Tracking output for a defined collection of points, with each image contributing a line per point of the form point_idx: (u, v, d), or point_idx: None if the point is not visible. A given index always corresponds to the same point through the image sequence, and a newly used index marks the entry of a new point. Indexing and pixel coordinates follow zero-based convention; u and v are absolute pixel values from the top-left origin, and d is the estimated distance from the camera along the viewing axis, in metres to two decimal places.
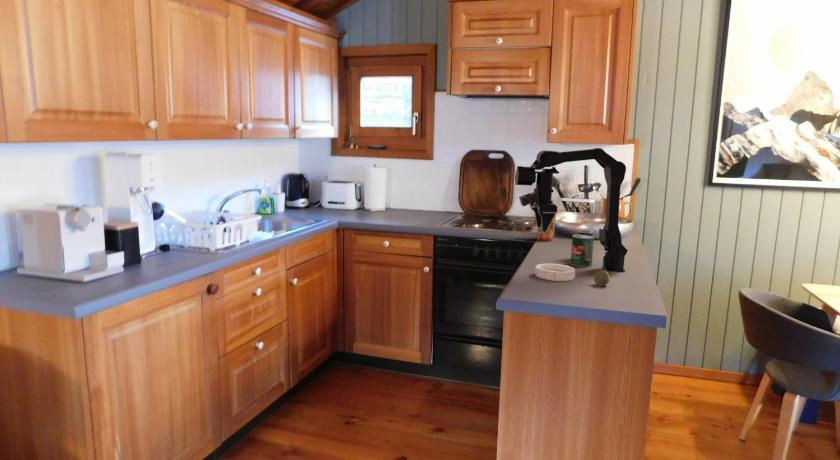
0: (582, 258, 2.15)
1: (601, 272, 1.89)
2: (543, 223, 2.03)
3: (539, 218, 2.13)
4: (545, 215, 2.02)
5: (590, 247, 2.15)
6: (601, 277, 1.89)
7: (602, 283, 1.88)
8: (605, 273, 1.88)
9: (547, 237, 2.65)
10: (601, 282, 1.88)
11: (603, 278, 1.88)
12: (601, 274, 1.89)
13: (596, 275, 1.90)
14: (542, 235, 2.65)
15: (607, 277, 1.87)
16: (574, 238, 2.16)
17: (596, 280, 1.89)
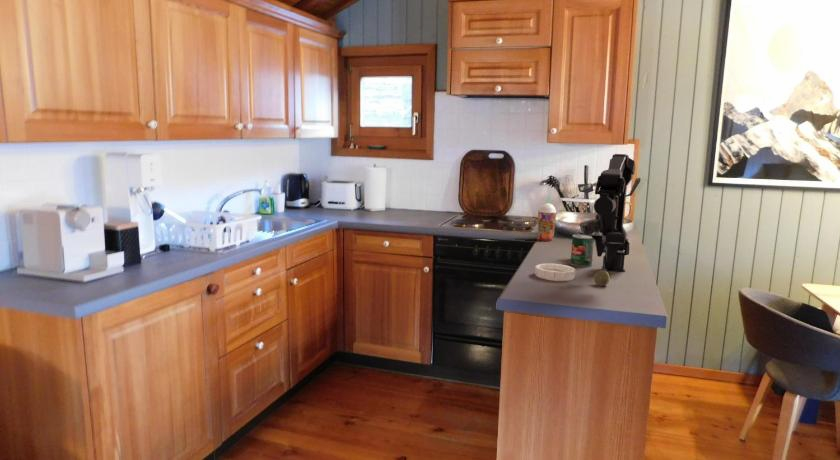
0: (582, 258, 2.15)
1: (601, 272, 1.89)
2: (608, 254, 1.82)
3: (599, 247, 1.92)
4: (610, 245, 1.81)
5: (590, 247, 2.15)
6: (601, 277, 1.89)
7: (602, 283, 1.88)
8: (605, 273, 1.88)
9: (547, 237, 2.65)
10: (601, 282, 1.88)
11: (603, 278, 1.88)
12: (601, 274, 1.89)
13: (596, 275, 1.90)
14: (542, 235, 2.65)
15: (607, 277, 1.87)
16: (574, 238, 2.16)
17: (596, 280, 1.89)
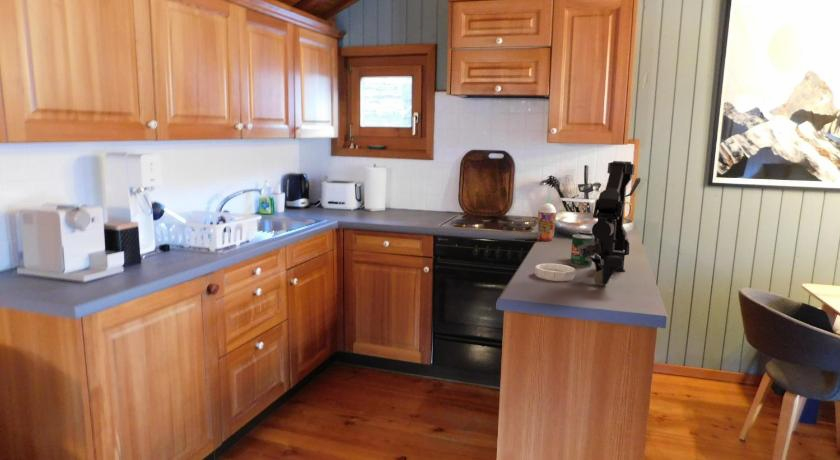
0: (582, 258, 2.15)
1: (601, 272, 1.89)
2: (604, 276, 1.85)
3: None
4: (606, 267, 1.84)
5: None
6: (601, 276, 1.89)
7: (602, 283, 1.88)
8: None
9: (547, 237, 2.65)
10: (601, 282, 1.88)
11: None
12: (601, 274, 1.89)
13: (596, 275, 1.90)
14: (542, 235, 2.65)
15: None
16: (574, 238, 2.16)
17: (596, 280, 1.89)
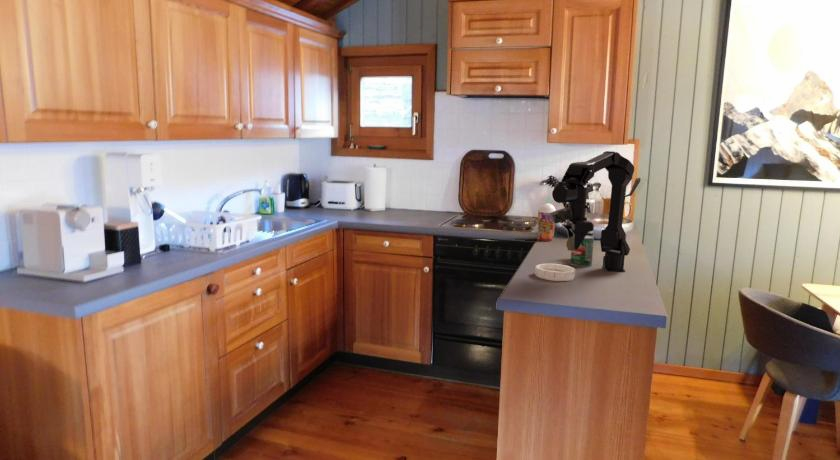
0: (582, 258, 2.15)
1: (572, 238, 1.93)
2: (575, 241, 1.89)
3: None
4: (578, 232, 1.89)
5: (590, 247, 2.15)
6: (572, 242, 1.93)
7: None
8: None
9: (547, 237, 2.65)
10: (573, 247, 1.92)
11: None
12: (573, 240, 1.93)
13: (568, 241, 1.94)
14: (542, 235, 2.65)
15: None
16: None
17: (568, 246, 1.94)
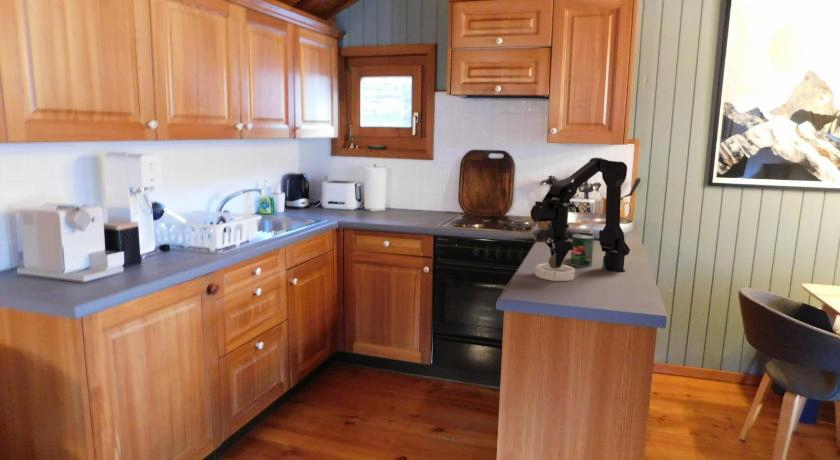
0: (582, 258, 2.15)
1: (554, 256, 1.98)
2: (557, 259, 1.94)
3: None
4: (559, 251, 1.94)
5: (590, 247, 2.15)
6: (554, 260, 1.98)
7: (555, 266, 1.97)
8: None
9: None
10: (555, 265, 1.97)
11: None
12: (554, 258, 1.98)
13: (550, 259, 1.99)
14: None
15: None
16: (574, 238, 2.16)
17: (550, 263, 1.99)
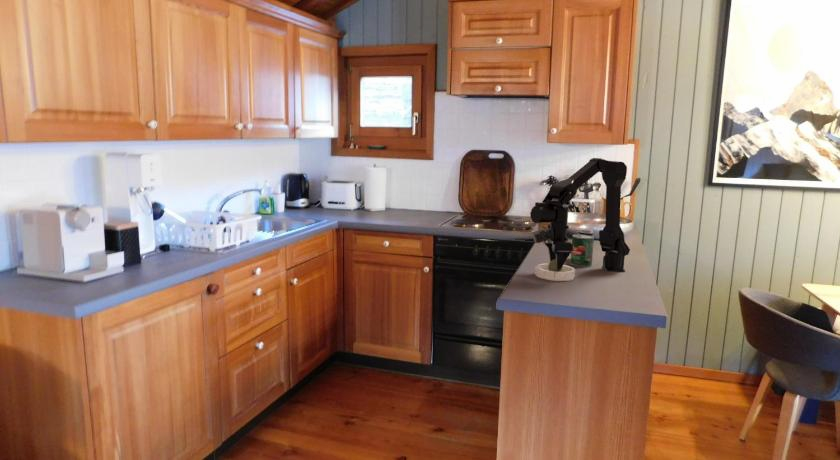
0: (582, 258, 2.15)
1: (554, 261, 1.98)
2: (558, 261, 1.92)
3: (552, 254, 2.03)
4: (560, 253, 1.92)
5: (590, 247, 2.15)
6: (554, 265, 1.98)
7: (555, 271, 1.97)
8: None
9: None
10: (555, 270, 1.97)
11: (556, 266, 1.97)
12: (554, 263, 1.98)
13: (550, 264, 1.99)
14: None
15: None
16: (574, 238, 2.16)
17: (550, 269, 1.99)
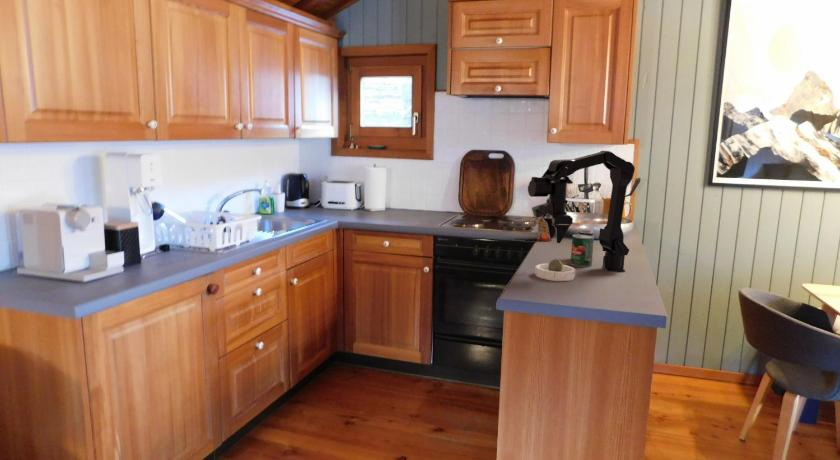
0: (582, 258, 2.15)
1: (554, 261, 1.98)
2: (557, 235, 1.97)
3: (551, 229, 2.08)
4: (560, 227, 1.97)
5: (590, 247, 2.15)
6: (554, 265, 1.98)
7: (555, 271, 1.97)
8: (558, 262, 1.97)
9: (547, 237, 2.65)
10: (555, 270, 1.97)
11: (556, 266, 1.97)
12: (554, 263, 1.98)
13: (550, 264, 1.99)
14: (542, 235, 2.65)
15: (560, 266, 1.96)
16: (574, 238, 2.16)
17: (550, 269, 1.99)
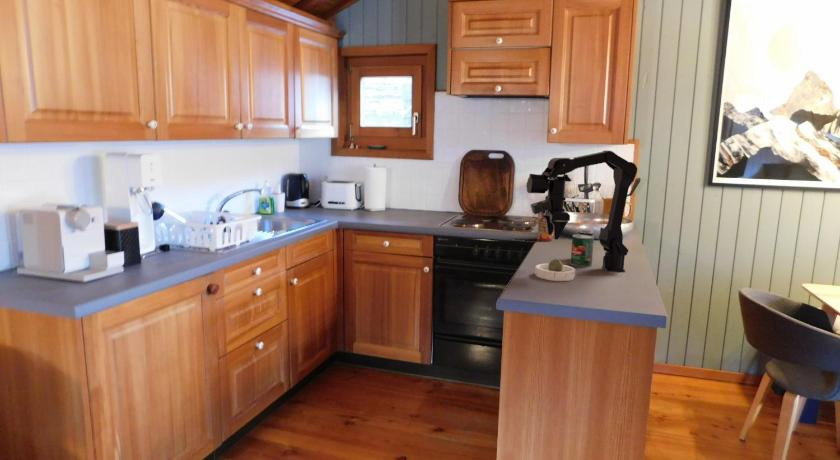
0: (582, 258, 2.15)
1: (554, 261, 1.98)
2: (555, 231, 2.01)
3: (550, 226, 2.11)
4: (557, 223, 2.00)
5: (590, 247, 2.15)
6: (554, 265, 1.98)
7: (555, 271, 1.97)
8: (558, 262, 1.97)
9: (547, 237, 2.65)
10: (555, 270, 1.97)
11: (556, 266, 1.97)
12: (554, 263, 1.98)
13: (550, 264, 1.99)
14: (542, 235, 2.65)
15: (560, 266, 1.96)
16: (574, 238, 2.16)
17: (550, 269, 1.99)
